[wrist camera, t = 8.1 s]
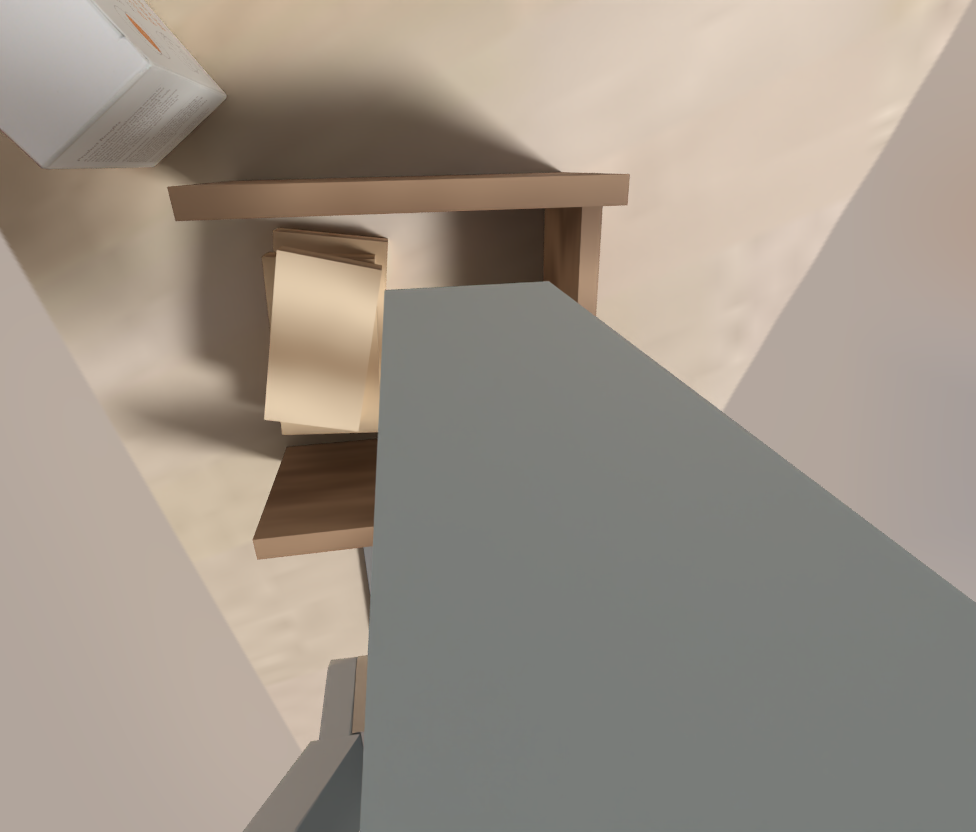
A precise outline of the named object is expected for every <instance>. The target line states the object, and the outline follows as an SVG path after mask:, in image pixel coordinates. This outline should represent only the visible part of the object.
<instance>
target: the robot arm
mask: <svg viewBox="0 0 976 832" xmlns="http://www.w3.org/2000/svg"><path fill="white" fill-rule="evenodd" d="M367 663H368V655H366V656H358V657H352V658H344V659H336V660H331V661H330V664H329V666H328V671H327V679H326V687H325V695H324V703H323V711H322V719H321V727H320V735H319V740H316V741H311V742H310V743H309V744H308V746H307V747H306V748H305V750H304V751H303V752H302V754H301V755H300V756H299V758H298V759H297V760H296V762H295V763H294V764H293V766H292V767H291V768H290V770H289V771H288V772H287V774H286V775H285V776H284V778H283V779H282V780H281V782H280V783H279V784H278V786H277V787H276V788H275V790H274V791H273V792H272V794H271V795H270V796H269V798H268V799H267V800H266V801H265V803H264V804H263V805H262V807H261V808H260V809H259V811H258V812H257V813H256V815H255V816H254V817H253V819H252V820H251V822H250V823H249V824H248V825H247V827H246V828H245V829H244V831H243V832H359V831H360V817H361V795H362V773H363V751H364V729H365V707H366V685H367Z"/></svg>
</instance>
